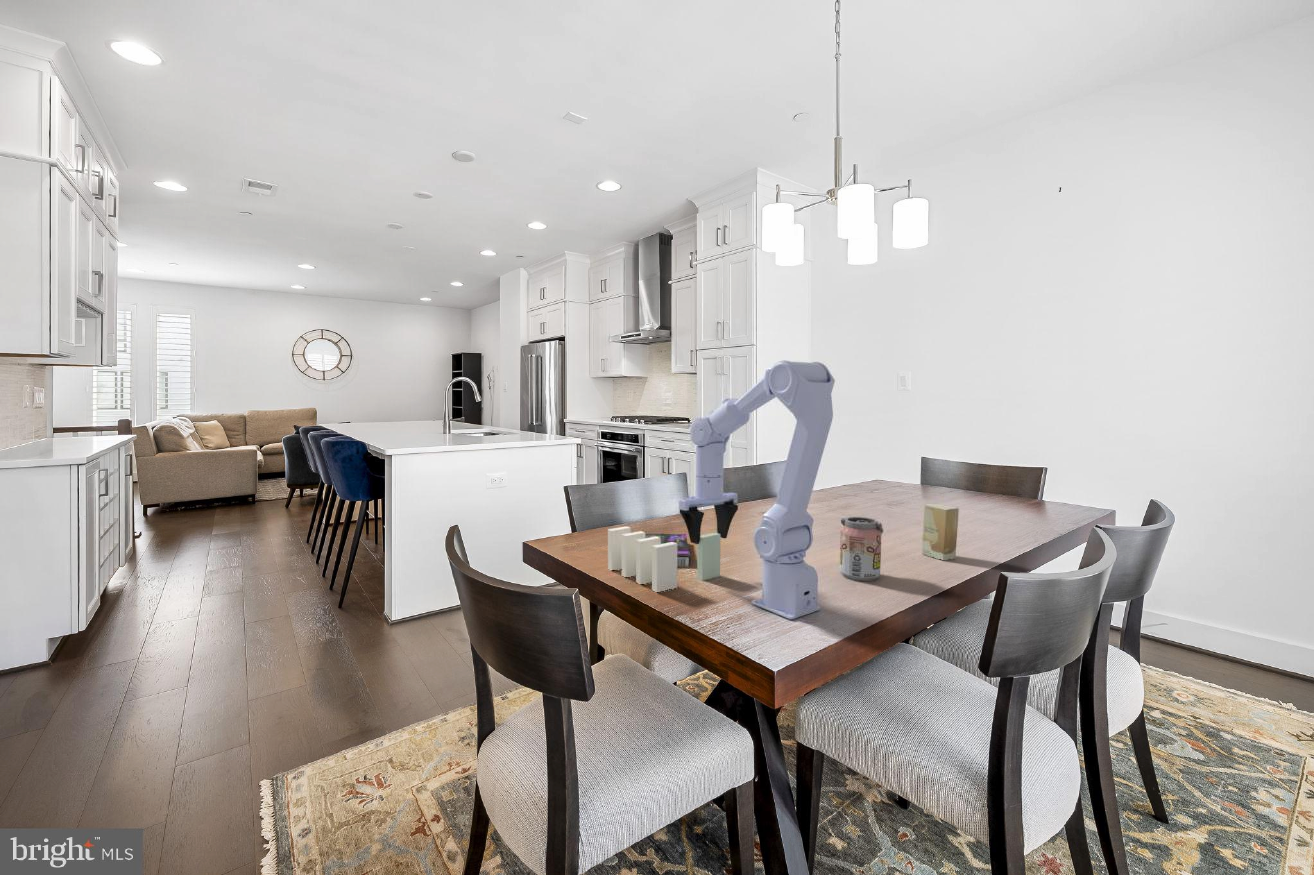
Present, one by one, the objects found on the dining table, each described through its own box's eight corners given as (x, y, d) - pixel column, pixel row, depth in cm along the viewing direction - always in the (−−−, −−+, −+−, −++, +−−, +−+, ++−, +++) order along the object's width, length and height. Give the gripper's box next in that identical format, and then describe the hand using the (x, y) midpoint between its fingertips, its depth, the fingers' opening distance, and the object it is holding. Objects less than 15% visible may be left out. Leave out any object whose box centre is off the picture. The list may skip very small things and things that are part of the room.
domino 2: (645, 573, 120) (645, 532, 119) (625, 578, 117) (625, 536, 116) (641, 571, 121) (641, 531, 120) (621, 576, 118) (621, 534, 117)
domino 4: (677, 588, 111) (677, 543, 110) (656, 593, 108) (656, 547, 107) (672, 585, 112) (672, 541, 112) (651, 591, 109) (651, 545, 109)
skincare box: (920, 554, 135) (922, 504, 134) (933, 552, 136) (935, 502, 135) (944, 561, 129) (946, 509, 128) (957, 559, 131) (959, 507, 130)
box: (690, 570, 125) (686, 545, 145) (690, 555, 125) (687, 532, 144) (627, 569, 125) (632, 544, 145) (628, 553, 125) (633, 530, 144)
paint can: (845, 566, 125) (846, 513, 124) (885, 572, 121) (887, 517, 120) (834, 577, 117) (835, 521, 116) (876, 584, 113) (878, 526, 112)
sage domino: (720, 576, 118) (720, 534, 118) (702, 580, 116) (702, 537, 115) (715, 574, 120) (715, 532, 119) (697, 578, 117) (697, 536, 116)
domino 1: (631, 567, 124) (630, 527, 124) (611, 571, 121) (611, 530, 121) (627, 565, 126) (626, 526, 125) (608, 569, 123) (607, 529, 122)
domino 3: (660, 580, 115) (660, 537, 115) (640, 585, 112) (640, 541, 112) (656, 578, 117) (656, 536, 116) (636, 583, 114) (636, 539, 113)
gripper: (722, 470, 123) (721, 531, 125) (670, 476, 115) (669, 541, 116) (744, 474, 118) (744, 537, 119) (692, 480, 109) (691, 548, 110)
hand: (708, 540), depth 117 cm, fingers open, 7 cm apart
